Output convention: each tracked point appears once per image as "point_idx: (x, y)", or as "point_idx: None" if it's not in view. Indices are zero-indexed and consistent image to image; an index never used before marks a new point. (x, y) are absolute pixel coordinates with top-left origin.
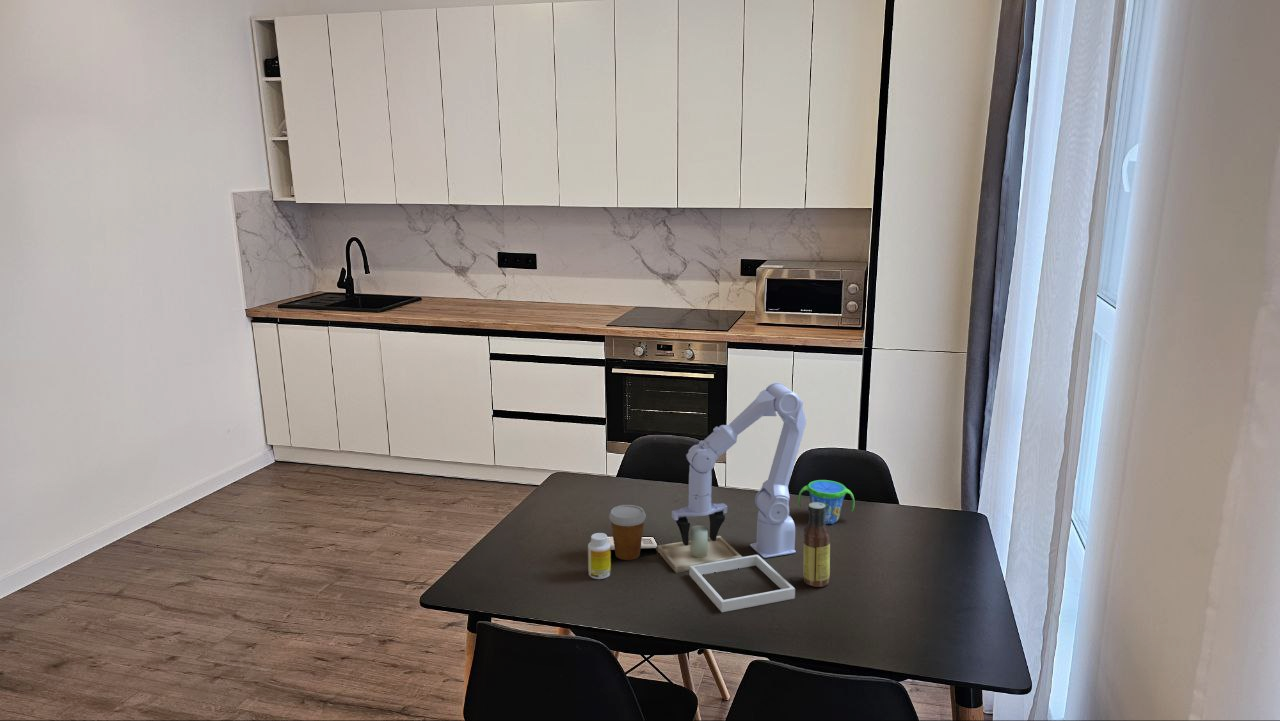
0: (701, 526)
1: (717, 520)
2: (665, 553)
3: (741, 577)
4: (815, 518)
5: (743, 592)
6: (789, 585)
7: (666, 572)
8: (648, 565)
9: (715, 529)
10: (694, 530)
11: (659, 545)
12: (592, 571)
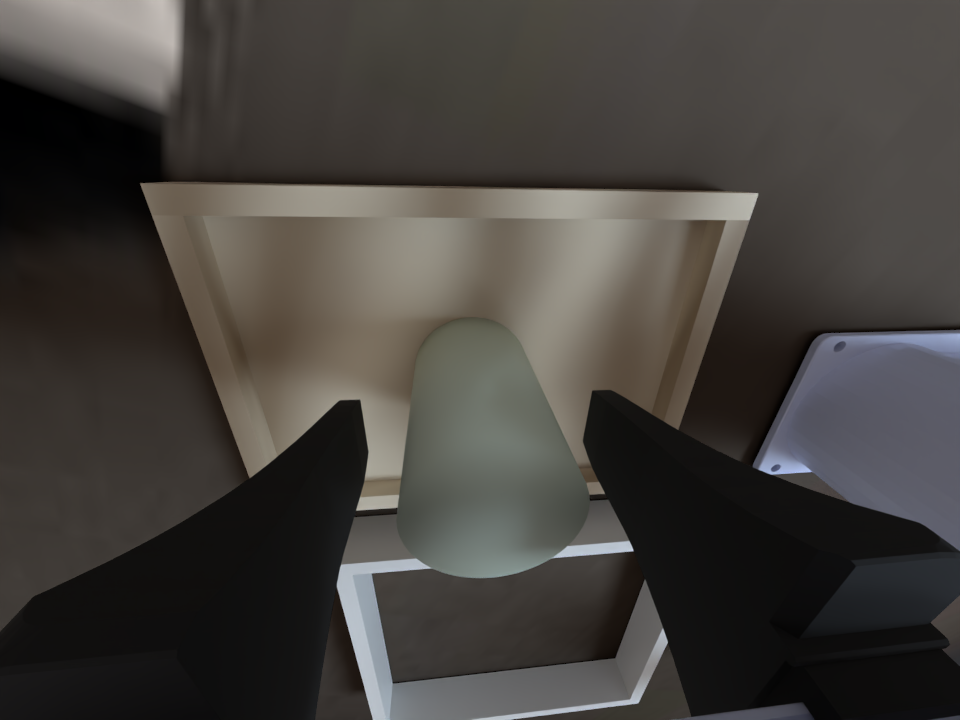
0: (547, 475)
1: (693, 713)
2: (213, 349)
3: (555, 562)
4: None
5: (503, 629)
6: (637, 693)
7: (224, 473)
8: (102, 380)
9: (636, 548)
10: (426, 536)
11: (165, 189)
12: None
